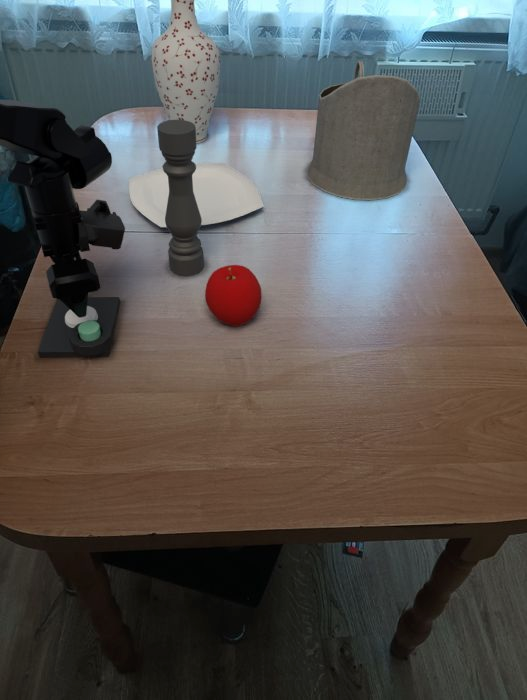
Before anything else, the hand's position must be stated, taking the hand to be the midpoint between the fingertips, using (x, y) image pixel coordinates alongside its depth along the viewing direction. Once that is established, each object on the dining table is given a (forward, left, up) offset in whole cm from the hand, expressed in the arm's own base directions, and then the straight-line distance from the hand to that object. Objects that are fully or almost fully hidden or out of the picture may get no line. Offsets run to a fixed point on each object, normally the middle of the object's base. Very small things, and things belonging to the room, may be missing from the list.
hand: (77, 298), depth 82 cm
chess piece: (0, 0, -4) cm, 4 cm away
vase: (+38, +64, -5) cm, 75 cm away
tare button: (+1, -6, -3) cm, 7 cm away
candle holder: (+20, +9, -5) cm, 23 cm away
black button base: (0, -1, -5) cm, 5 cm away
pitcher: (+70, +35, -5) cm, 78 cm away
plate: (+29, +32, -5) cm, 44 cm away
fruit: (+23, -7, -5) cm, 24 cm away
